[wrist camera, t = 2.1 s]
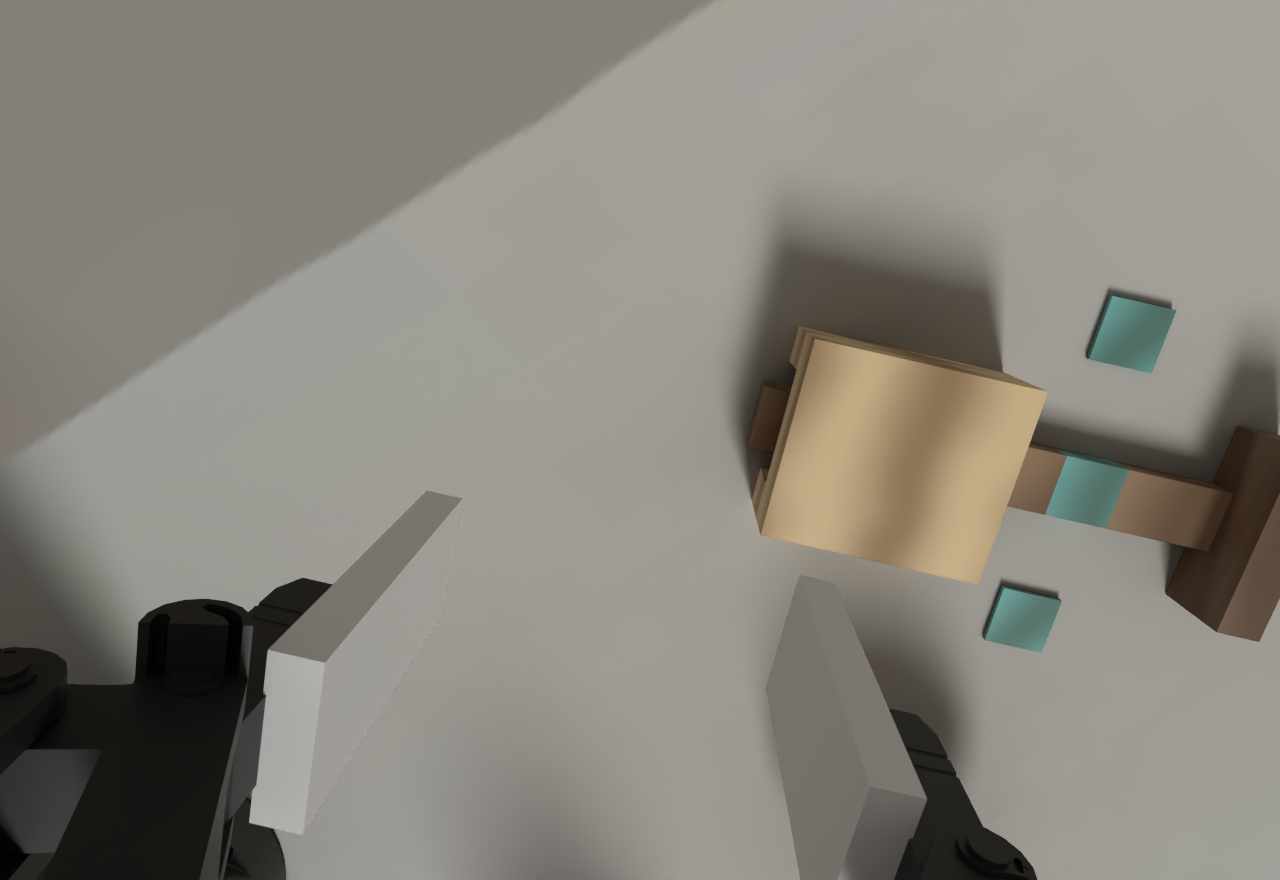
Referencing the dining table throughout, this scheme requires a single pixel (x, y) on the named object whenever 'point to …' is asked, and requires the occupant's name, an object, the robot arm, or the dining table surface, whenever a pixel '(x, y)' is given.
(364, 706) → the robot arm
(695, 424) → the dining table surface
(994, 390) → the light wooden box
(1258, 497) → the wooden block assembly
